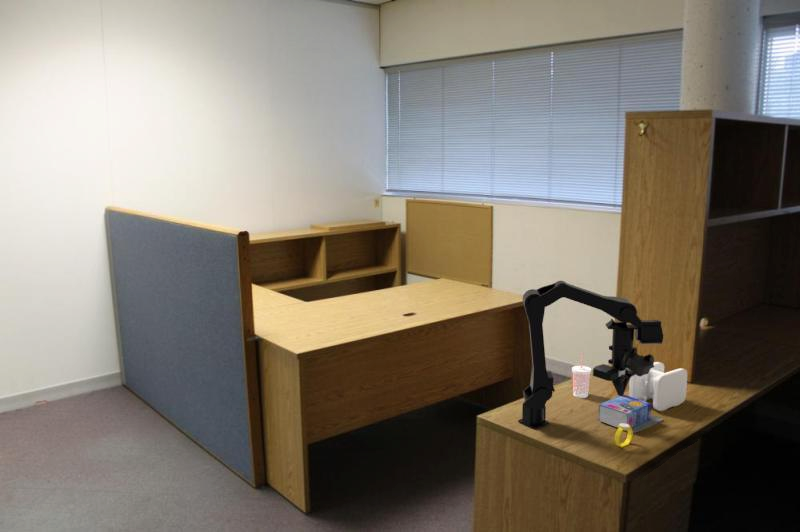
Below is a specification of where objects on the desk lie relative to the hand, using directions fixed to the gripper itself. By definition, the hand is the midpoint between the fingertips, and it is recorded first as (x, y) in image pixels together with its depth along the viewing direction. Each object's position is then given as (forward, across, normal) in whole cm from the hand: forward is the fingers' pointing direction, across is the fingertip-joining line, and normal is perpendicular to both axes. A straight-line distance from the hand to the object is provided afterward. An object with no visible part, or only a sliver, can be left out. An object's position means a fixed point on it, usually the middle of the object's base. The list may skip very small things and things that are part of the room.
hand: (620, 395), depth 192 cm
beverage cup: (+9, +9, +22) cm, 26 cm away
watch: (+9, -10, -9) cm, 16 cm away
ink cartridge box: (+6, -3, 0) cm, 7 cm away
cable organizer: (+9, +22, +3) cm, 24 cm away
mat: (+9, +5, 0) cm, 11 cm away
